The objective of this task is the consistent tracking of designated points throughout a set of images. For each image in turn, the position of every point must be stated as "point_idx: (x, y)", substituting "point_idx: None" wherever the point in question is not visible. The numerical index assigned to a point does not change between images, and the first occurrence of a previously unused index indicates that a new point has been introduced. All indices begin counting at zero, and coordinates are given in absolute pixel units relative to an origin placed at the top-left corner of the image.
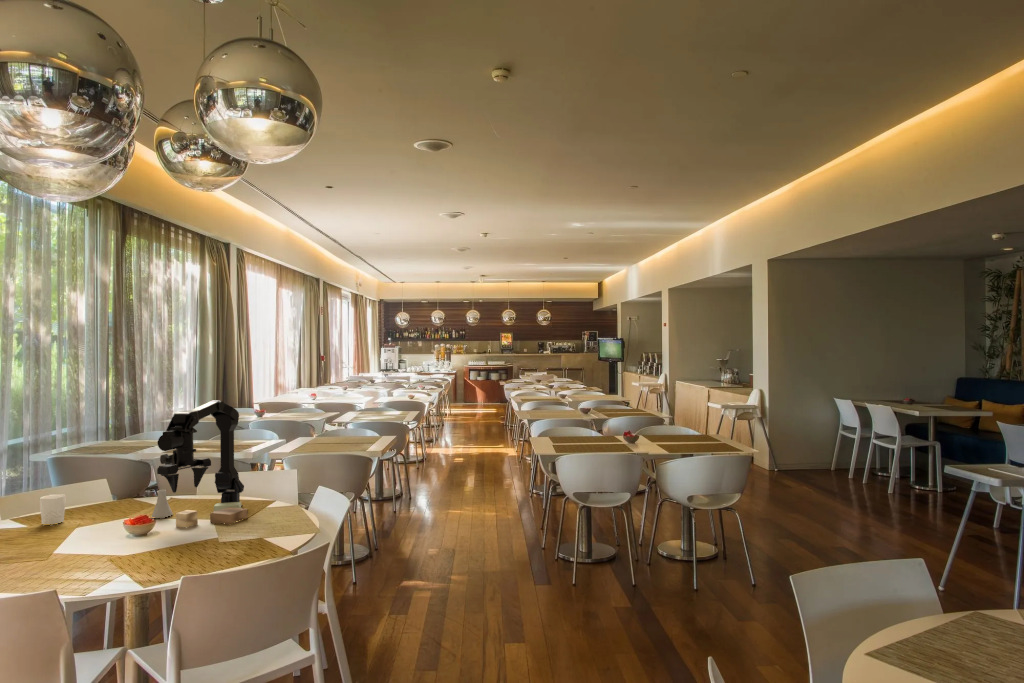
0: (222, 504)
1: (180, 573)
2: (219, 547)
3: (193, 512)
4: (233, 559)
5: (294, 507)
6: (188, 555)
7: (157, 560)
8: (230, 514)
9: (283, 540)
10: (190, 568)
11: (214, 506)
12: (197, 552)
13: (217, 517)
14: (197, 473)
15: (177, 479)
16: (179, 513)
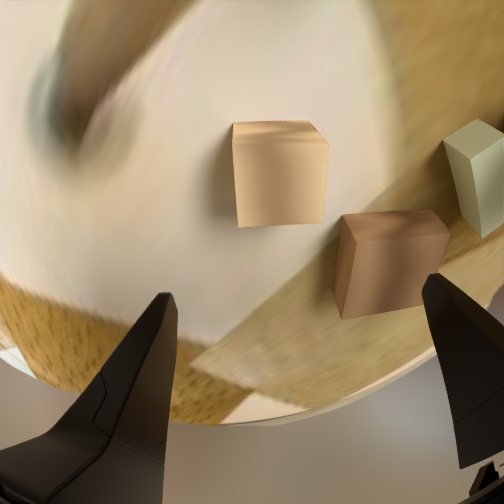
0: (490, 177)
1: (77, 389)
2: None
3: (293, 222)
4: None
5: (498, 287)
6: None
7: (56, 347)
8: (345, 318)
9: (255, 408)
10: None
11: (468, 161)
12: None
13: (345, 264)
14: (480, 405)
15: (156, 461)
16: (235, 178)
